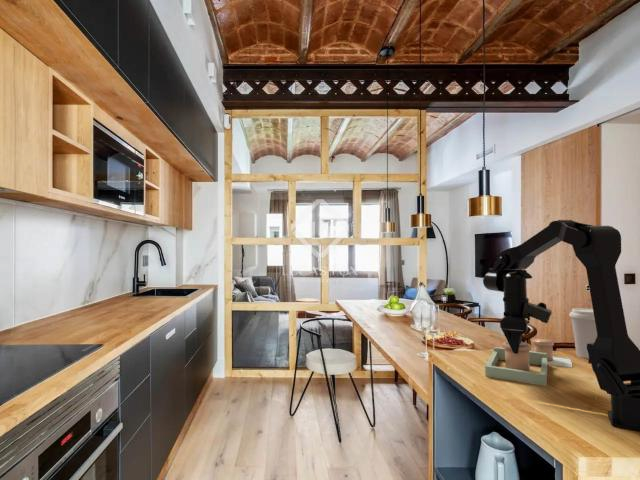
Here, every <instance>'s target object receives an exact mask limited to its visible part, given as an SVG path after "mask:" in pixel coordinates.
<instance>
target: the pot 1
mask: <svg viewBox="0 0 640 480" xmlns="http://www.w3.org/2000/svg"><path fill="white" fill-rule="evenodd" d="M502 348H505V360H504V362H505V364H504V365H505V367H504V368H509V369H516V370H523V371H530V372H531V366H530V365H531V364H530V361H529V351H532V345H531V344H530V343H528V342H524V341H521V342H520V345H519V351H518V354H515V353H513V351H512V349H511V347H510V345H509V343H508V341H507V340H506V341H503V342H502Z"/></svg>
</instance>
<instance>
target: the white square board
mask: <svg viewBox="0 0 640 480" xmlns="http://www.w3.org/2000/svg"><path fill="white" fill-rule="evenodd" d="M547 366H553V367H561V368H569V369H573V364H572V358H571V357H565V356H557V355H553V361H547Z"/></svg>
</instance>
